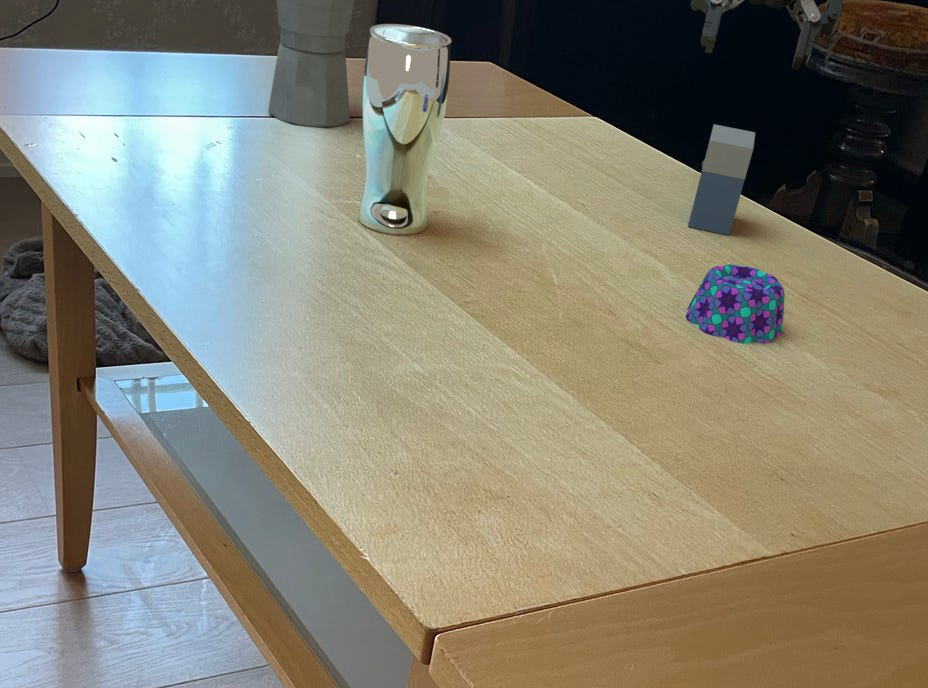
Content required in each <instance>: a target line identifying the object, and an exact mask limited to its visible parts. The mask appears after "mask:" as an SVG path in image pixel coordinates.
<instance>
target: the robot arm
mask: <svg viewBox="0 0 928 688" xmlns="http://www.w3.org/2000/svg"><path fill="white" fill-rule="evenodd" d="M744 1H745V0H691V1H690V8H691V10H693V11H695V12H698V11H702V13H704V14H705V20H704V23H703V27H702V31H701V37H700V45H701V46H702V47H705V50H704V53H706V54H711V55H712V54H713V51H714V48H715V47H714V46H715V43H716V38H717V35H718V31H719V28H720V23H721V19H722V15H724V14H725V13H726V12H728V11H729V10H733V9H735V8H736V7H738V6H739V5H741V4H742V3H743V2H744ZM748 1H749V4H750V5H755V6H759V5H760V6H762V5H763V6H764V5H766V6H768V7H770V8H773V9H777V10H782V7H785V8H786V10H787V12H788V14H789V15H790V17H791V19H792V21H793V22H796V23H797V26H798V28H799V30H800V33H799V36H798V41H797V44H796V49H795V52H794V57H793V61H792V65H791V69H792V70H797V71H799V70H800V68H801V65H804V66H806V65H807V63H808V62H809V61H810V58H811V55H812V52H813V50H814V49H813V48H814V45H815V40H816V37H817V35H820V34H824V35H825V36H832V35H833V34H834V33H835V31H836V29H837V26H838V23H839V20H840V19H841V15H842V10H843V4H844V0H826V4H825V11H822V12H820V10H819V8H818V5H817V4H816V2H815V0H748Z"/></svg>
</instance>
